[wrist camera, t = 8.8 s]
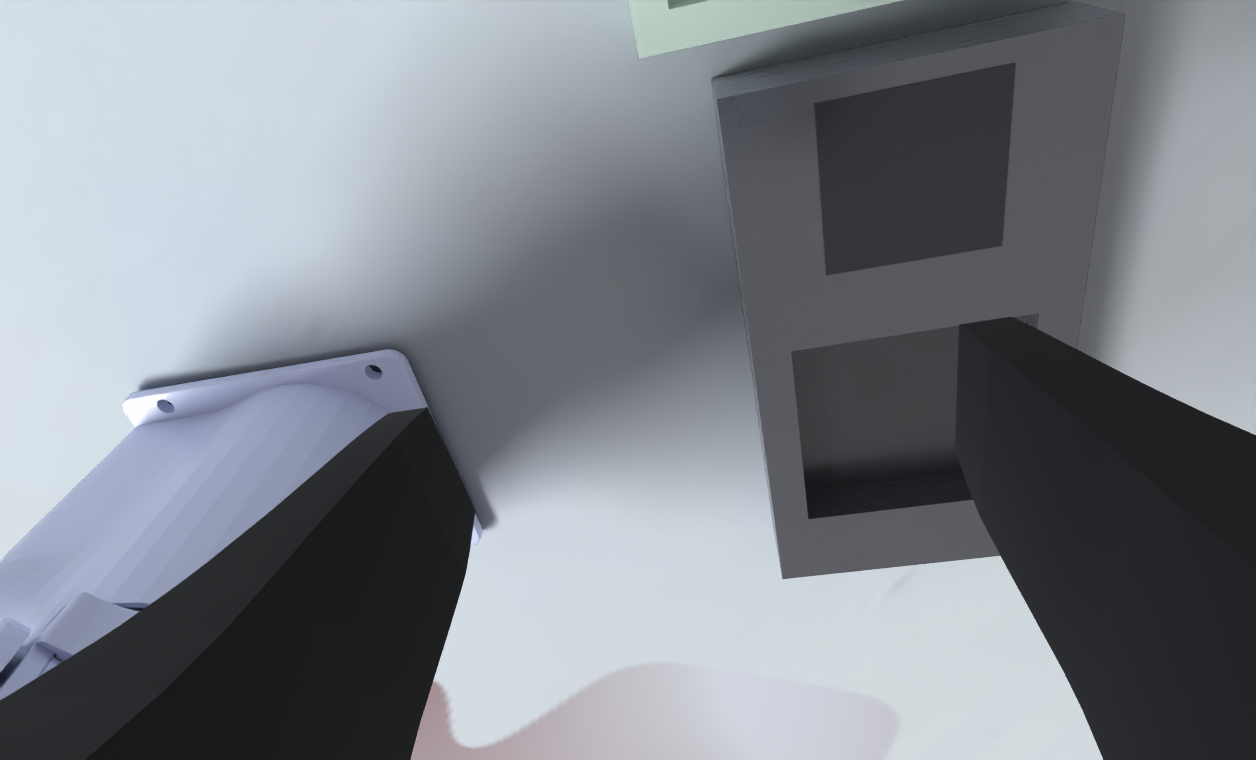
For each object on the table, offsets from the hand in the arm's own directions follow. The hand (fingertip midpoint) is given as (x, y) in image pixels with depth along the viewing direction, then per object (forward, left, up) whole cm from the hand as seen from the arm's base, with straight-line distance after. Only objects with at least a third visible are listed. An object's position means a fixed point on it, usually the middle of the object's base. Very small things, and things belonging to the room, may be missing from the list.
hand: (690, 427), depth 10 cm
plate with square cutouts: (+5, -5, -10) cm, 13 cm away
